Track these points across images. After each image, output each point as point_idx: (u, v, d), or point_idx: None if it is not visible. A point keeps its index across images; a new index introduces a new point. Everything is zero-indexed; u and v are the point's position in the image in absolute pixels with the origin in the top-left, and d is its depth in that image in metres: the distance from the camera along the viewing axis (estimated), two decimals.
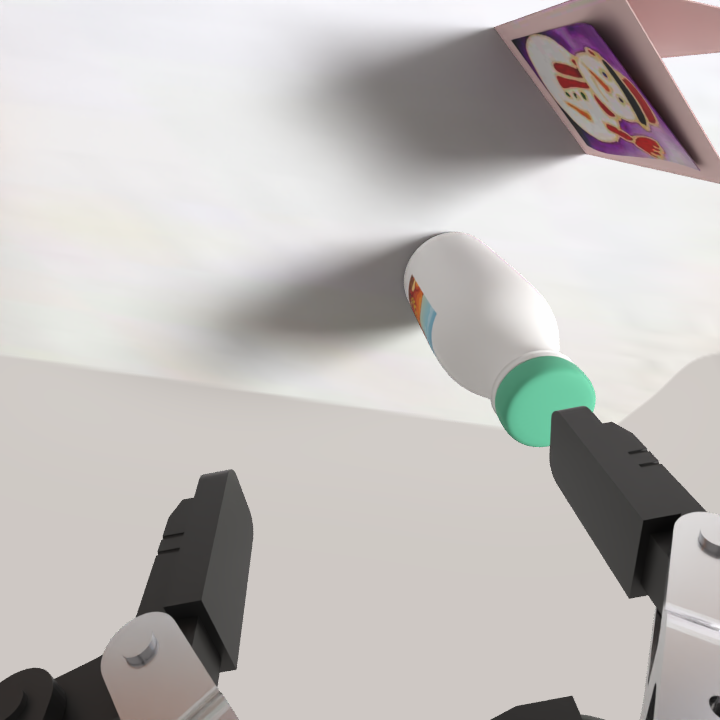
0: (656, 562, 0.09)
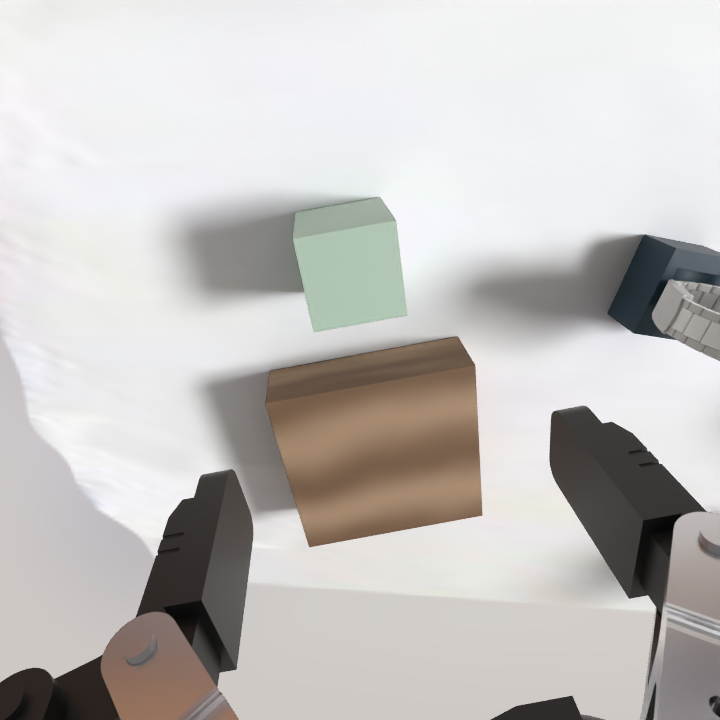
0: (656, 562, 0.09)
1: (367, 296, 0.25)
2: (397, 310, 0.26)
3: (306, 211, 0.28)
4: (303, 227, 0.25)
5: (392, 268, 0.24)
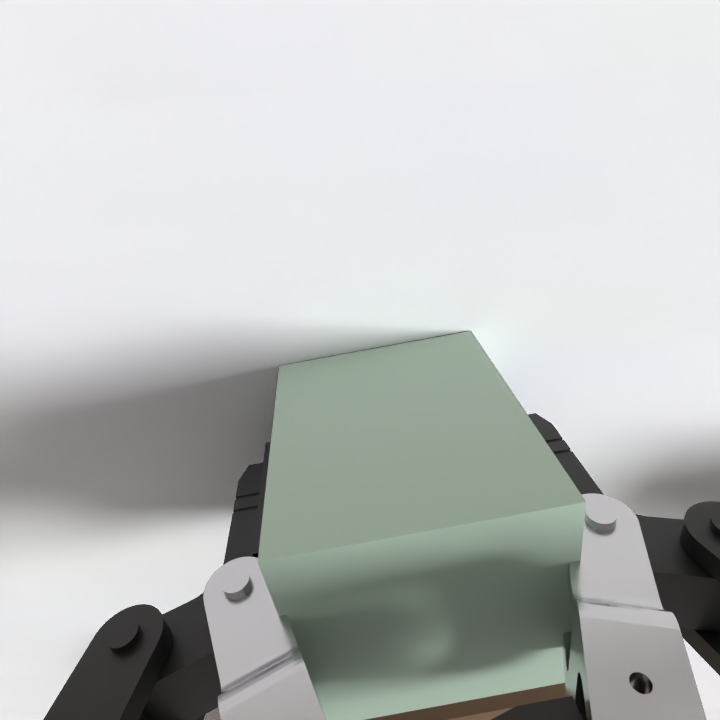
0: None
1: (470, 658, 0.09)
2: (545, 675, 0.10)
3: (303, 368, 0.12)
4: (294, 469, 0.09)
5: (550, 603, 0.08)
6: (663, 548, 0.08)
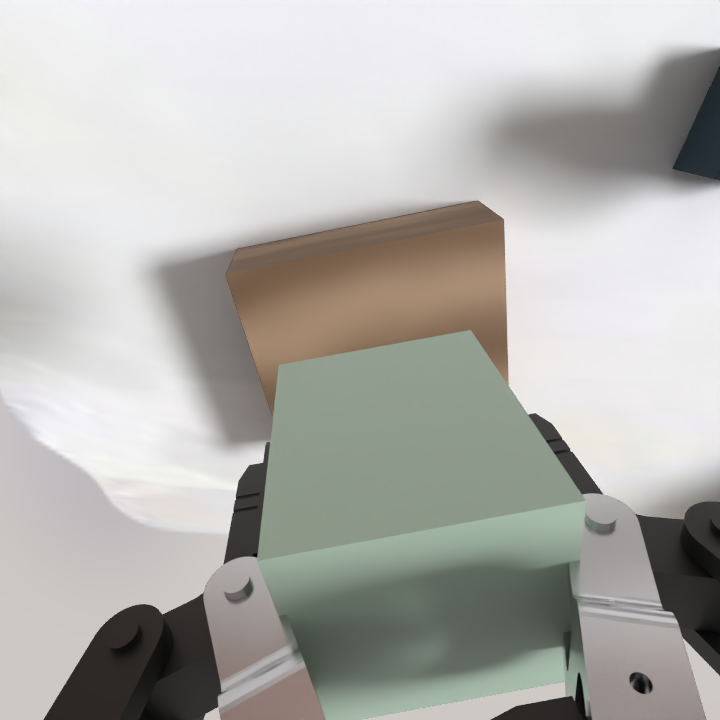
0: None
1: (470, 657, 0.09)
2: (545, 674, 0.10)
3: (303, 368, 0.12)
4: (293, 468, 0.09)
5: (550, 601, 0.08)
6: (663, 548, 0.08)
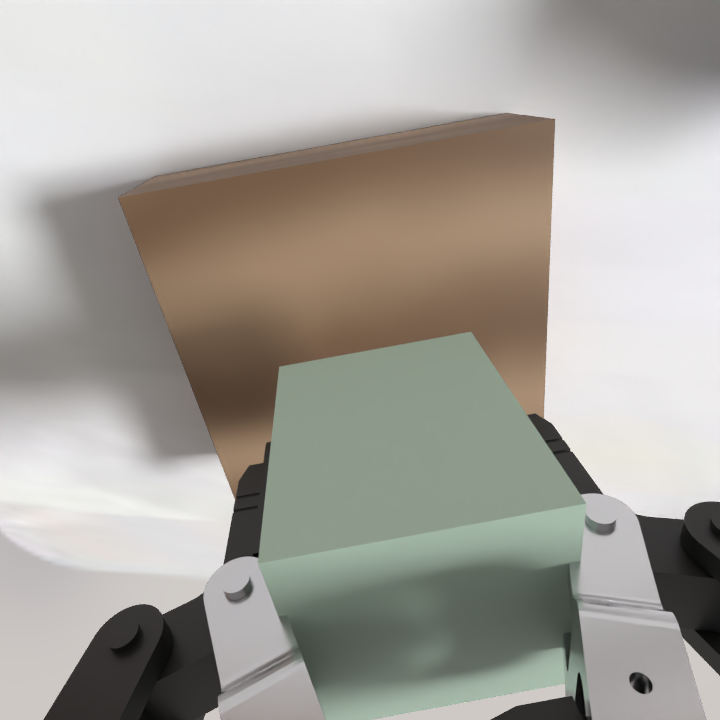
0: None
1: (470, 659, 0.09)
2: (545, 676, 0.10)
3: (303, 369, 0.12)
4: (294, 470, 0.09)
5: (550, 604, 0.08)
6: (663, 548, 0.08)
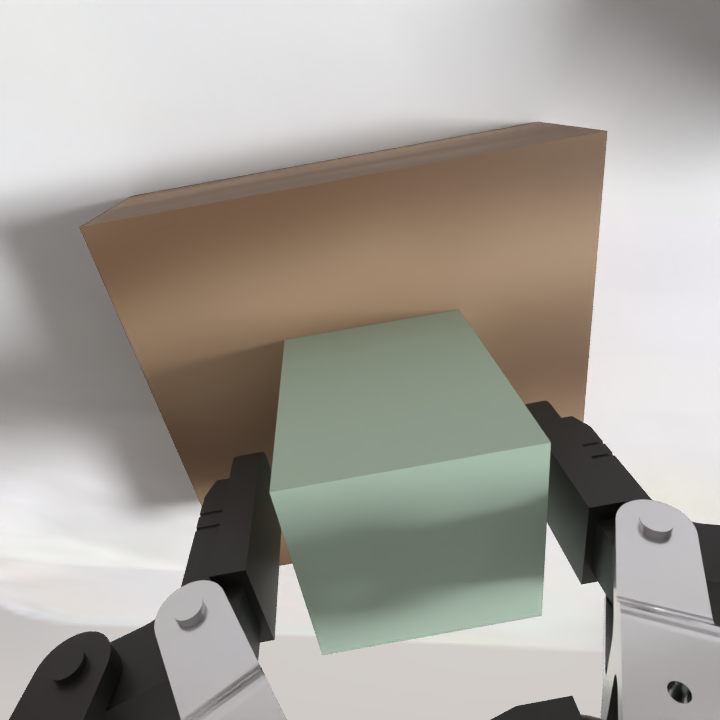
0: (602, 548, 0.09)
1: (453, 589, 0.10)
2: (520, 608, 0.11)
3: (307, 342, 0.13)
4: (299, 422, 0.10)
5: (523, 537, 0.10)
6: None
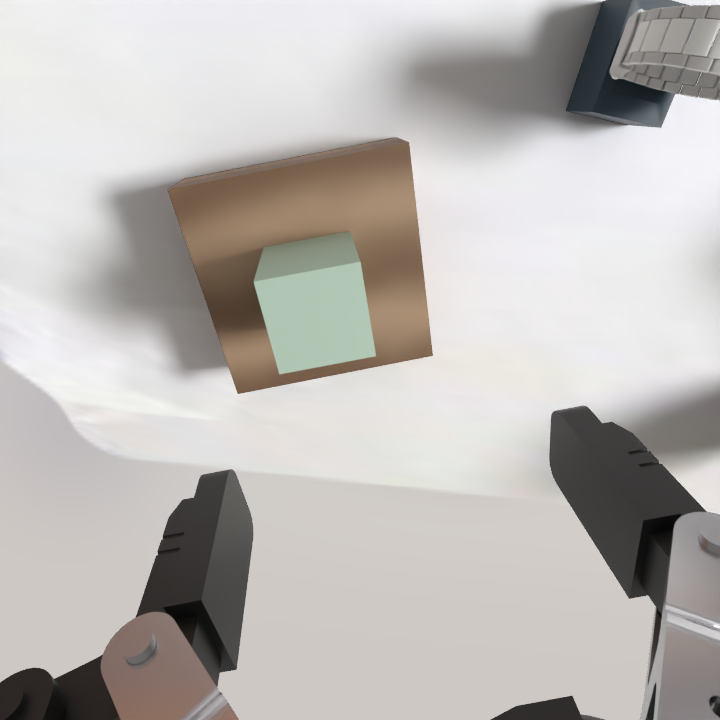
0: (656, 562, 0.09)
1: (333, 337, 0.24)
2: (365, 351, 0.25)
3: (274, 247, 0.27)
4: (267, 267, 0.24)
5: (358, 309, 0.24)
6: None
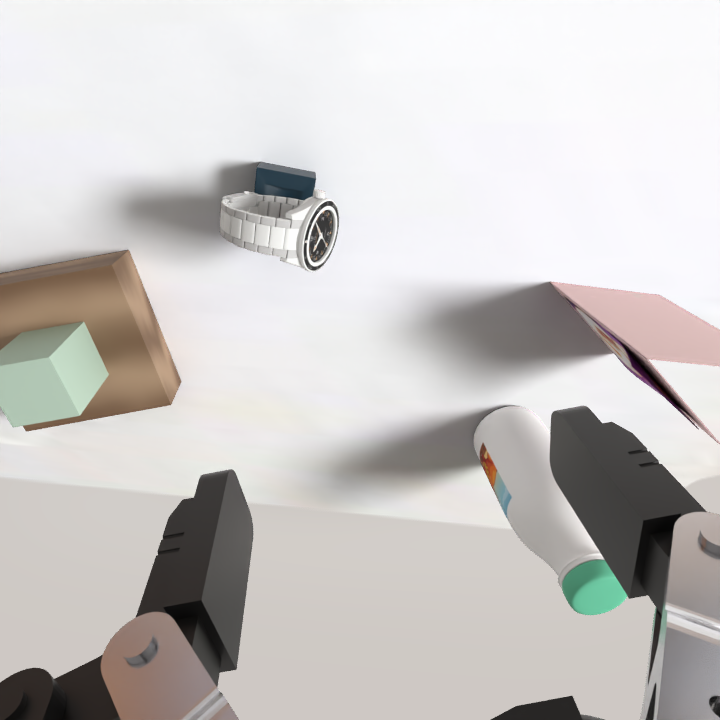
0: (656, 562, 0.09)
1: (45, 404, 0.35)
2: (71, 412, 0.36)
3: (27, 333, 0.39)
4: None
5: (57, 386, 0.35)
6: None
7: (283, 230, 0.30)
